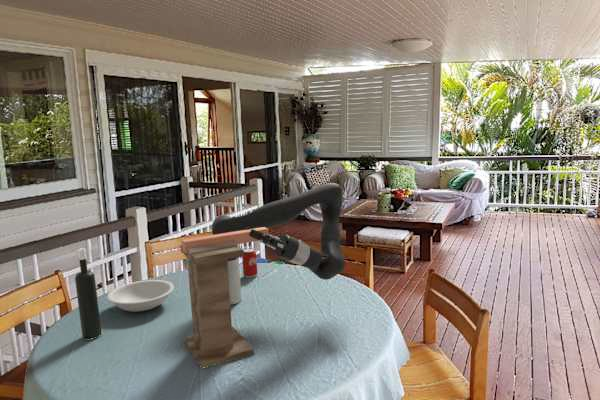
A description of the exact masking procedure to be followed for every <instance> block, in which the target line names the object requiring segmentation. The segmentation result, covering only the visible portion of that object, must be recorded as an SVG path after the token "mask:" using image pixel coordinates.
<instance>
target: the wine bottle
mask: <svg viewBox="0 0 600 400" xmlns="http://www.w3.org/2000/svg"><path fill="white" fill-rule="evenodd" d="M77 254H78V260H79V267H80V268H79V269H80V272H78V273H76V275H75V278H74V282H75V289H76V296H77V304H78V313H79V320H80V321H79V322H80V329H81V336H82V339H83V338H84V339H91V338H95V337H98V336H99V335H101V333H102V326H101V325H102V324H101V320H100V319H101V316H100V310H99V309H100V308H99V300H98V293H97V292H98V291H97V285H96V284H97V283H96V276H95V274H94V272H92V271H90V270H88V264H87V254H86V249H85V247H81V248H78V250H77ZM101 336H102V335H101ZM84 339H83V340H84Z"/></svg>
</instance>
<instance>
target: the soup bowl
mask: <svg viewBox="0 0 600 400" xmlns="http://www.w3.org/2000/svg"><path fill="white" fill-rule="evenodd" d="M174 290H175V286H174V284H173V283H172V282H170V281H168V280H161V279H150V280H149V279H147V280H139V281H133V282H129V283H125V284H123V285H120V286H118V287H115V288H113V289H112V290H110V291H109V292H108V293H107V296H106V298H107V300H108V302H110V303H113V304H114V305H115V306H116V307H118V308H119V309H120V310H123V311H126V312H144V311H148V310H152V309H154V308H157V307H159V306H160V305H162V304H163V303H164V302H165V301H166V300H167V299H168V297H169V295H170V294H171V293H172V292H173V291H174Z"/></svg>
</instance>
